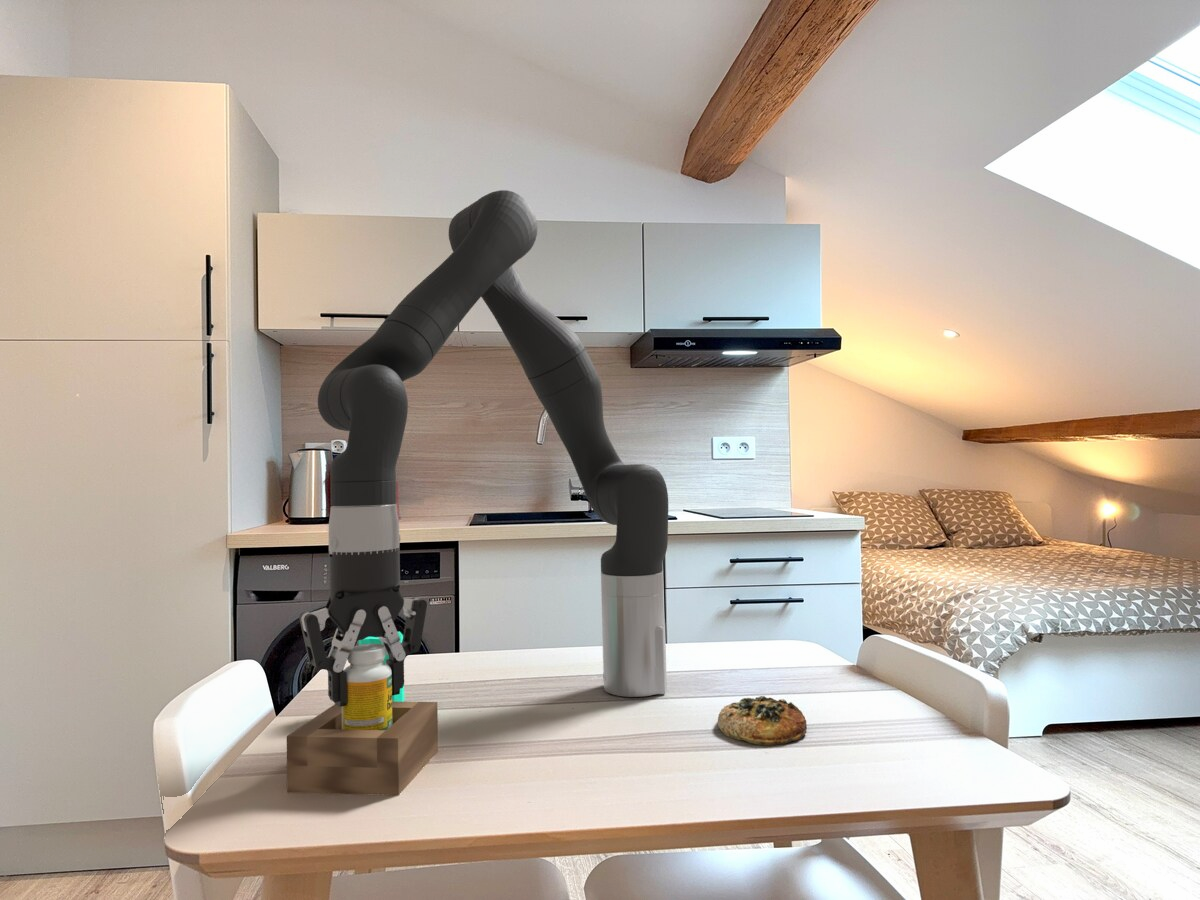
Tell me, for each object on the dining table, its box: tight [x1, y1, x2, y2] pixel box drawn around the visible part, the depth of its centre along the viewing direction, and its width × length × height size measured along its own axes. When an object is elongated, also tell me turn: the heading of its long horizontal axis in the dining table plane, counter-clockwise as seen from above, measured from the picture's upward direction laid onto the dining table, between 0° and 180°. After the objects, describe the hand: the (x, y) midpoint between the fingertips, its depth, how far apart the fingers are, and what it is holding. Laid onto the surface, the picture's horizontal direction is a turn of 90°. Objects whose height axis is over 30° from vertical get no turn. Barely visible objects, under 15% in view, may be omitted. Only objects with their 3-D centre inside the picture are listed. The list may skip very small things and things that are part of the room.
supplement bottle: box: [342, 644, 392, 730], centre depth 83 cm, size 5×5×10 cm
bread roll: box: [717, 695, 808, 746], centre depth 92 cm, size 11×11×5 cm
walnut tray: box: [286, 701, 439, 796], centre depth 82 cm, size 12×12×6 cm
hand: (367, 698), depth 83 cm, fingers closed on supplement bottle, 5 cm apart
